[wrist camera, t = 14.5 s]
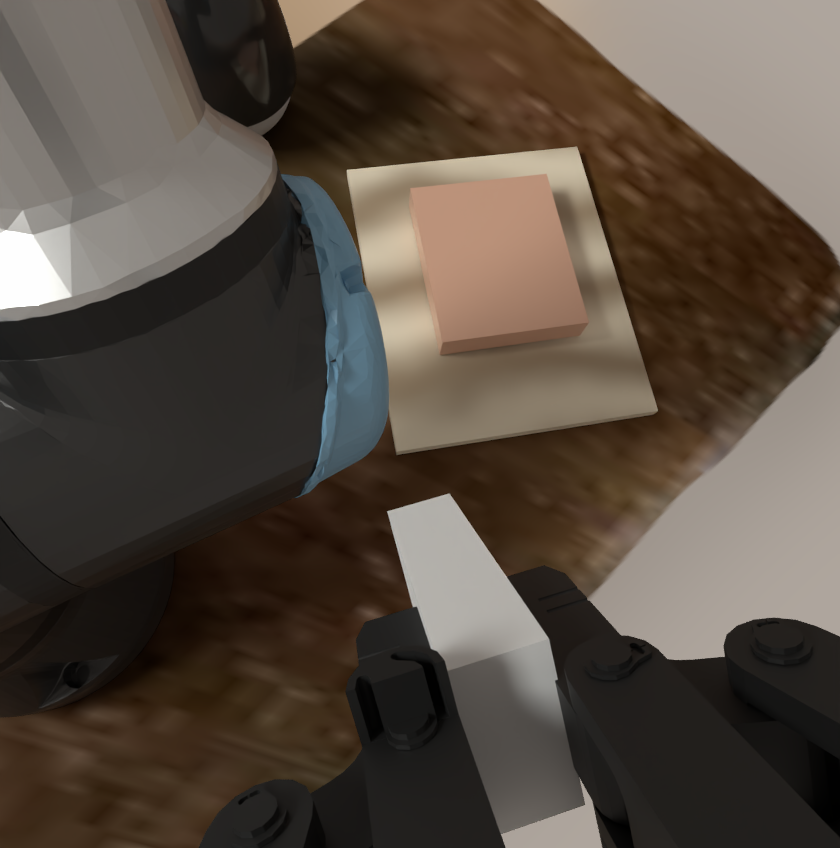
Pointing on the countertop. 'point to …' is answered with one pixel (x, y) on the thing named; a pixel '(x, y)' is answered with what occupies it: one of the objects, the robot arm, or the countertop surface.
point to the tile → (495, 264)
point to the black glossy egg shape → (239, 57)
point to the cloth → (508, 365)
